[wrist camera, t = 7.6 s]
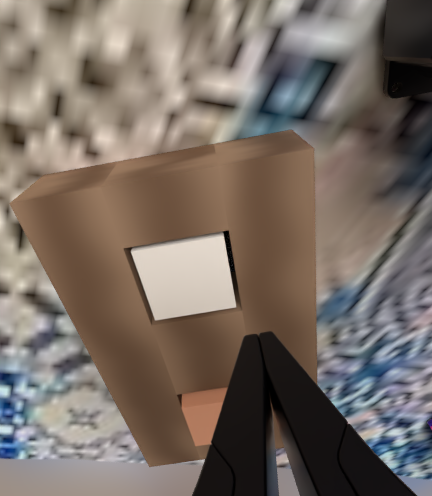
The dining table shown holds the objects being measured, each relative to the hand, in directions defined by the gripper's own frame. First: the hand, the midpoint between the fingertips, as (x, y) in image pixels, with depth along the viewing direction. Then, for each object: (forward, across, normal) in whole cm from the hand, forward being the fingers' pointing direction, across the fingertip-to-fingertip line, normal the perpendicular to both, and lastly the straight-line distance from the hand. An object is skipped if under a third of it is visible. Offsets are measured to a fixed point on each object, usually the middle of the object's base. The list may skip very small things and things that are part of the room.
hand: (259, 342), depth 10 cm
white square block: (+11, +3, +3) cm, 12 cm away
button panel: (+12, +3, +9) cm, 15 cm away
